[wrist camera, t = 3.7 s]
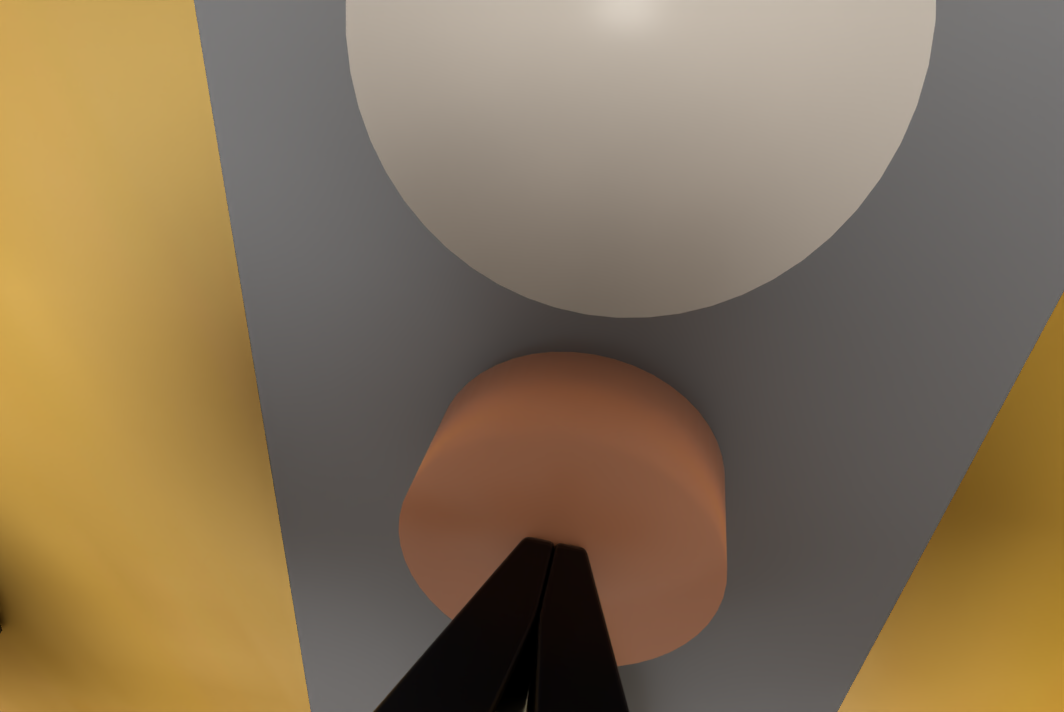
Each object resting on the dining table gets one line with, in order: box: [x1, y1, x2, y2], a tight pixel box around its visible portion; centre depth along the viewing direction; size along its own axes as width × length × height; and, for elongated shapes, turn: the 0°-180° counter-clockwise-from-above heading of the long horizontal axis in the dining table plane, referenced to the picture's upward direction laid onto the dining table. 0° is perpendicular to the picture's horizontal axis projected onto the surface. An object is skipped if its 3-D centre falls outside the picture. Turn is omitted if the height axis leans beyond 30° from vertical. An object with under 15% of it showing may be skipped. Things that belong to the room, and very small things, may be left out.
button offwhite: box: [346, 0, 936, 318], centre depth 6 cm, size 4×4×2 cm
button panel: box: [194, 0, 1064, 712], centre depth 13 cm, size 11×20×3 cm, turn 175°
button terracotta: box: [399, 352, 727, 666], centre depth 11 cm, size 4×4×2 cm
